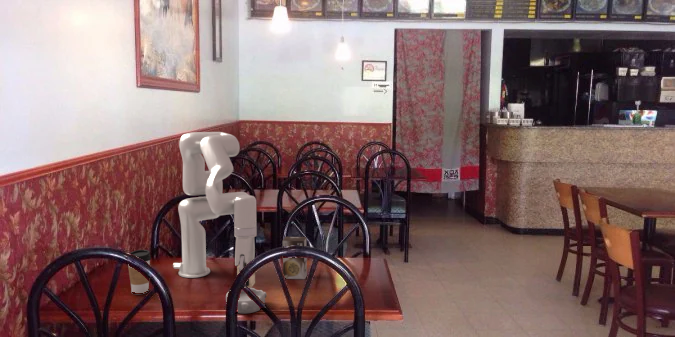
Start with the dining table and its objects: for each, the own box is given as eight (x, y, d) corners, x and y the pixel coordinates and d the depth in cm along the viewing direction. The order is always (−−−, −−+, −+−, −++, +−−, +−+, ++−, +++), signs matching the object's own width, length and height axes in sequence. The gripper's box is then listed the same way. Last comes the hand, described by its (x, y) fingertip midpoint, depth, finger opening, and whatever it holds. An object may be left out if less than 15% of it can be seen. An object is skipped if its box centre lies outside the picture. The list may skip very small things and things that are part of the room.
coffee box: (307, 274, 227) (307, 236, 225) (304, 279, 220) (304, 240, 218) (285, 273, 227) (285, 235, 225) (282, 278, 221) (282, 239, 219)
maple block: (237, 287, 188) (237, 267, 187) (241, 282, 193) (240, 263, 192) (251, 287, 187) (251, 267, 186) (255, 282, 192) (254, 263, 191)
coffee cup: (156, 289, 208) (155, 250, 206) (142, 296, 200) (140, 256, 198) (138, 286, 210) (137, 248, 208) (123, 293, 202) (121, 254, 200)
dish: (249, 318, 181) (249, 303, 181) (217, 310, 188) (216, 296, 187) (274, 304, 194) (274, 290, 193) (243, 297, 201) (243, 283, 200)
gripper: (240, 225, 196) (241, 275, 199) (228, 237, 180) (229, 290, 182) (261, 226, 196) (262, 275, 198) (250, 237, 179) (251, 291, 181)
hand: (246, 282), depth 190 cm, fingers closed on maple block, 5 cm apart
